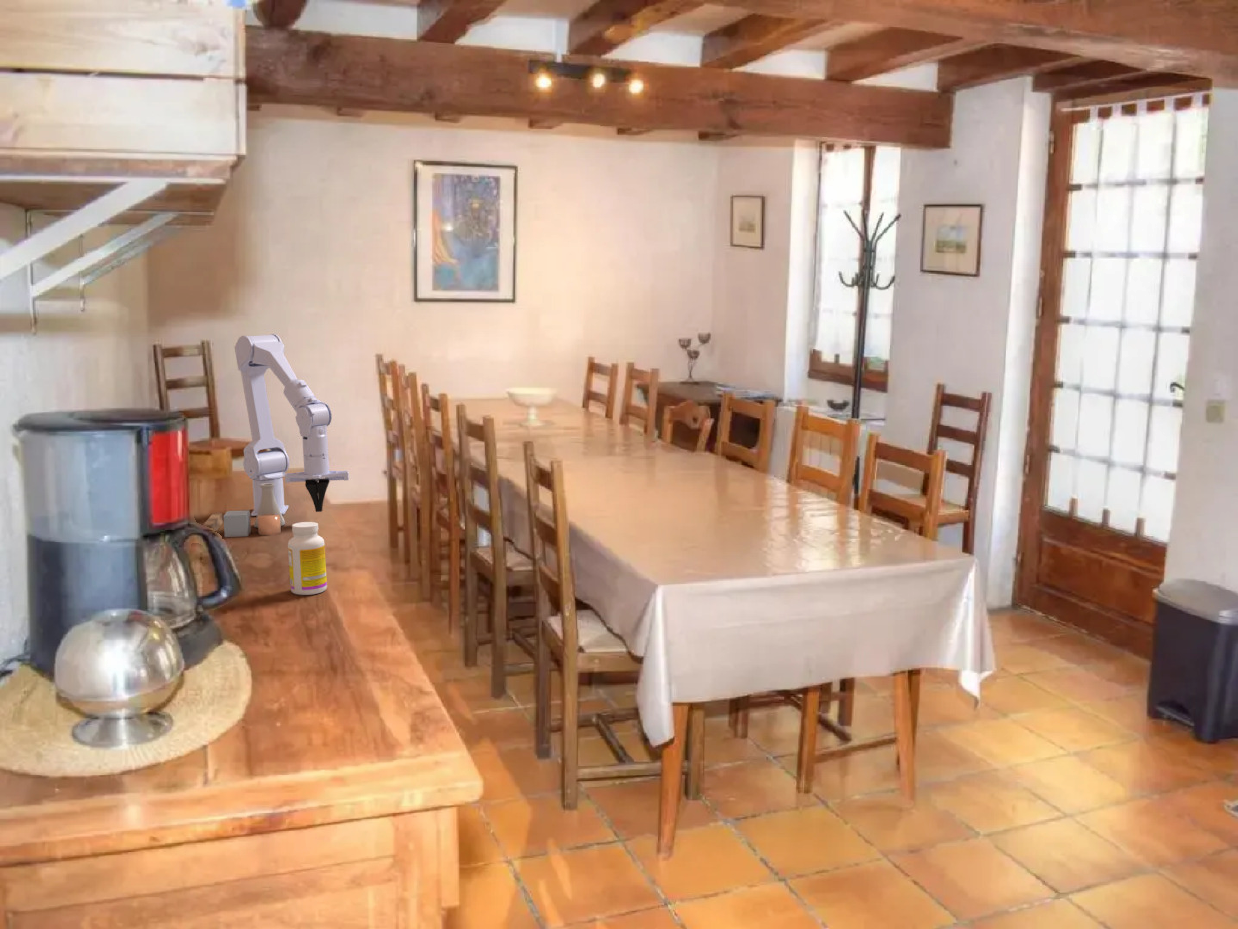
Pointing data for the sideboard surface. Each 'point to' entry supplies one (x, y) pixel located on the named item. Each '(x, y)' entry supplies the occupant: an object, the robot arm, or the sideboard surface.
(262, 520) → the peach egg shape
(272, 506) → the flask
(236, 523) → the slate block
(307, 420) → the robot arm
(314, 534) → the supplement bottle
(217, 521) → the walnut rail
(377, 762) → the sideboard surface
